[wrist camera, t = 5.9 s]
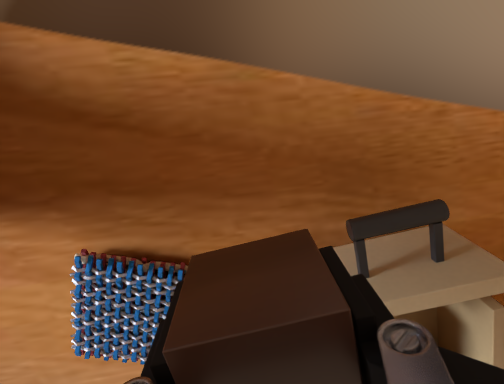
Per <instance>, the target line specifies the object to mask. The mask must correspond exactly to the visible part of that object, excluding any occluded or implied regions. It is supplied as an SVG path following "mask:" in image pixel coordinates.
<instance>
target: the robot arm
mask: <svg viewBox="0 0 504 384" xmlns="http://www.w3.org/2000/svg"><path fill="white" fill-rule="evenodd" d="M319 251H320V253H321V255H322V257H323V259H324V261H325V262H326V264H327V266H328V268H329V270H330V272H331V274H332V276H333V277H334V279H335V281H336V283H337V285H338V287H339V289H340V291H341V292H342V294H343V296H344V298H345V300H346V302H347V304H348V306H349V307H350V309H351V315H352V321H353V327H354V333H355V339H356V345H357V351H358V357H359V363H360V369H361V375H362V381H363V384H504V369H502V368H499V367H496V366H493V365H490V364H488V363H485V362H482V361H479V360H476V359H473V358H470V357H468V356H465V355H462V354H459V353H456V352H453V351H450V350H448V349H445V348H442V347H439V346H437V345H436V342H435V340H434V338H433V336H432V335H431V333H430V332H429V330H428V329H426V328H425V327H424V326H423V325H421V324H419V323H417V322H415V321H412V320H408V319H395V318H394V317H393V315H392V314H391V313H390V311H389V310H388V308H387V307H386V306H385V304H384V303H383V301H382V300H381V299H380V297H379V296H378V294H377V293H376V292H375V290H374V289H373V287H372V286H371V284H370V283H369V282H368V280H367V279H366V277H365V276H364V275H363V274H357V275H353V276H350V274H349V272H348V271H347V269H346V268H345V266H344V265H343V263H342V261H341V260H340V258H339V257H338V255H337V253H336V252H335V250H334V249H333V247H332V246H328V247H324V248H320V249H319ZM183 282H184V281H180V282H178V283H177V285H176V288H175V291H174V294H173V297H172V300H171V303H170V306H169V309H168V312H167V315H166V318H165V319H164V320H162V321H160V323H159V326H158V329H157V331H156V334H155V337H154V340H153V343H152V345H151V348H150V351H149V354H148V357H147V360H146V362H145V365H144V368H143V371H142V374H141V376H140V377H136V378H133V379H131V380H129V381H127V382H125V383H124V384H175V381H174V379H173V377H172V374H171V372H170V370H169V367H168V365H167V363H166V360H165V358H164V356H163V353H162V352H163V348H164V344H165V341H166V338H167V335H168V331H169V328H170V325H171V321H172V318H173V315H174V311H175V308H176V305H177V302H178V298H179V295H180V292H181V288H182V285H183Z"/></svg>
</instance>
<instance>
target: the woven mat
mask: <svg viewBox="0 0 504 384" xmlns="http://www.w3.org/2000/svg"><path fill="white" fill-rule="evenodd" d="M74 259H75V265H76V267H74V266H72V269H73V270H74V271H76V272H75V273H70V277H72V276H74V278H75V279H72V282H74V284H75V285H76V289H75V290H70V294H72V293H74V295H75V296H76V297H75V296H72V299H73V300H75V301H76V303H72V304H71V307H72V306H73V308H75V312H76V313H75V312H72V313H71V314H72V315H73V316H74V317H76V318H75V319H71V323H72V322H74V323H75V324H72V327H74V328H75V329H76V333H75V334H73V335H71V337H74V336H75V338H74V339H72V341H71V342H73V343H74V344H75V345H72V348H74V349H75V354H76V356H81V355H84V353H85V351H86V353H85V358H84V359H89V358H90V355H91V356H93V354H94V356H95V358H100V356H104V360H106V361H108V359H109V358H111V357H112V356H113V359H114V360H118V358H120V357H122V358H123V361H122V362H125V363H126V362H127V360H129V358H131V360H132V362H136V361H138V359H141V364H145V362H146V360H147V357H148V354H149V351H150V348H151V347H149V345H152V343H153V340H154V337H155V334H156V331H157V329H158V326H159V323H160V321H162V320H164V319H165V318H166V315H167V312H168V309H169V306H170V303H171V300H172V296H173V294H174V291H175V288H176V285H177V283H178V282H180V281H184V279H185V277H184V273H185V274H186V272H187V269H188V266H186V265H185V263H182V262H181V265H179V264H176V263H174V262H171V263H167V262H163V261H162V262H156V261H154V260H152V261H151V262H149V263H147V258H144V257H143V258H142V260H141V261H142V262H141V261H139V260H137V259H136V258H130V257H126V256H122V257H121V256H116V255H106V254H104V253H102V254H96V252H91V253H90V255H89V253H88V251H87V250H86V249H82V250H81V253H80V254H75V257H74ZM107 263H108V266H107ZM116 264H117V269H116ZM126 266H128V270H126ZM135 270H137V271H135ZM155 270H158V276H157V275H155ZM165 271H169V272H168V278H166V275H165ZM175 272H178V276H174V273H175ZM116 277H117V278H116ZM125 278H126V279H127V280H126V279H125ZM145 281H146V282H145ZM173 285H174V286H173ZM97 286H98V287H97ZM116 288H117V289H116ZM154 294H157V295H156V298H155V299H154ZM145 295H146V296H145ZM163 295H166V297H163ZM105 298H106V300H105ZM124 300H125V301H126V302H124ZM115 301H116V302H117V303H116V302H115ZM133 301H135V304H133ZM162 305H165V307H162ZM105 309H106V310H105ZM133 312H135V314H133ZM142 313H145V316H144V315H142ZM151 314H154V316H151ZM104 319H105V321H104ZM123 321H124V323H123ZM95 328H96V329H95ZM122 331H124V333H122ZM132 332H133V333H134V335H132ZM141 333H143V335H141ZM113 340H114V341H113ZM112 350H114V352H112ZM121 351H123V354H122V353H121ZM130 352H132V354H130ZM139 353H141V356H140V355H139Z"/></svg>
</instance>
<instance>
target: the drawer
mask: <svg viewBox="0 0 504 384" xmlns="http://www.w3.org/2000/svg"><path fill="white" fill-rule="evenodd" d="M448 218H449V209H448V206H447V205H446V203H445V202H444V201H443V200H441V199H437V200H433V201H428V202H424V203H419V204H415V205H411V206H406V207H402V208H398V209H393V210H389V211H384V212H380V213H376V214H371V215H367V216H362V217H358V218H354V219H349V220H347V221H346V228H347V232H348V235H349V237H350V239H351V240H352V241H353V243H351V244H347V245H342V246H338V247H333V249H334V250H335V252H336V253H337V255H338V257H339V258H340V260H341V261H342V263H343V265H344V266H345V268H346V269H347V271H348V272H349V274H350V276H353V275H357V274H363V275H364V276H365V277H366V279H367V280H368V282H369V283H370V284H371V286H372V287H373V289H374V290H375V292H376V293H377V294H378V296H379V297H380V299H381V300H382V301H383V303H384V304H385V306H386V307H387V308H388V310H389V311H390V313H391V314H392V315H393V317H394V318H395V319H408V320H412V321H415V322H417V323H419V324H421V325H423V326H424V327H425V328H426V329H428V330H429V332H430V333H431V335H432V336H433V338H434V340H435V342H436V345H437V346H439V347H442V348H445V349H448V350H450V351H453V352H456V353H459V354H462V355H465V356H468V357H470V358H473V359H476V360H479V361H482V362H485V363H488V364H490V365H493V366H496V367H499V368H502V369H504V306H503V305H501V304H500V303H499V302H498V301H496V300H495V299H494V298H492V297H491V296H492V295H496V294H501V293H504V261H502V260H501V259H499V258H497V257H496V256H494V255H492V254H491V253H489V252H488V251H486V250H484V249H483V248H481V247H479V246H478V245H476V244H475V243H473V242H471V241H470V240H468V239H466V238H465V237H463V236H462V235H460V234H458V233H457V232H455V231H454V230H452V229H450V228H449V227H447V226H445V225H444V224H443V223H442V221H446V220H447V219H448ZM428 224H429V226H427V227H423V228H418V229H414V230H409V231H405V232H400V233H396V234H391V235H387V236H382V237H378V238H374V239H369V240H364V239H366V238H371V237H375V236H379V235H384V234H388V233H393V232H397V231H402V230H406V229H411V228H415V227H419V226H424V225H428Z"/></svg>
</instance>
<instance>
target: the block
mask: <svg viewBox="0 0 504 384" xmlns="http://www.w3.org/2000/svg"><path fill="white" fill-rule="evenodd" d="M162 353H163V356H164V358H165V360H166V363H167V365H168V367H169V370H170V372H171V374H172V377H173V379H174V381H175V384H363V381H362V375H361V369H360V363H359V357H358V351H357V345H356V339H355V333H354V327H353V321H352V315H351V309H350V307H349V306H348V304H347V302H346V300H345V298H344V296H343V294H342V292H341V291H340V289H339V287H338V285H337V283H336V281H335V279H334V277H333V276H332V274H331V272H330V270H329V268H328V266H327V264H326V262H325V261H324V259H323V257H322V255H321V253H320V251H319V249H318V248H317V246H316V244H315V242H314V240H313V238H312V236H311V234H310V233H309V231H308V229H303V230H299V231H294V232H290V233H286V234H282V235H278V236H273V237H269V238H265V239H261V240H257V241H252V242H248V243H244V244H240V245H236V246H231V247H227V248H223V249H219V250H215V251H211V252H206V253H202V254H198V255H194V256H191V259H190V262H189V265H188V269H187V272H186V275H185V279H184V282H183V285H182V288H181V292H180V295H179V298H178V302H177V305H176V308H175V311H174V315H173V318H172V321H171V325H170V328H169V331H168V335H167V338H166V341H165V344H164V348H163V352H162Z"/></svg>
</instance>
